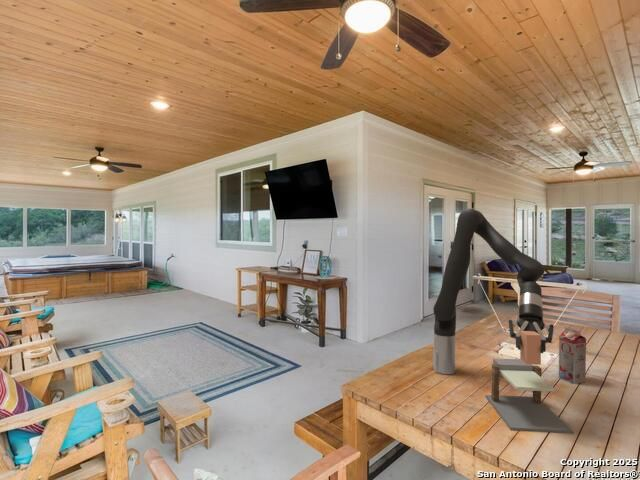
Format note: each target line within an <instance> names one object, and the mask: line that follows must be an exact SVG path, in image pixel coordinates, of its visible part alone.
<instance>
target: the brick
mask: <svg viewBox="0 0 640 480" xmlns="http://www.w3.org/2000/svg"><path fill="white" fill-rule="evenodd" d="M520 334H521V336H520V339H521V340H520V350H519V351H520V353H519V354H520V356H519V357H520V358H519V359H521V360H522V361H523V362H524V363H526V364H532V365H535V366H539V365H541V363H542V362H541V361H542V353H541V335H540V334H538V333H536V332H533V331H520Z"/></svg>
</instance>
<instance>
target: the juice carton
mask: <svg viewBox="0 0 640 480" xmlns="http://www.w3.org/2000/svg"><path fill="white" fill-rule="evenodd" d="M586 354H587V338H586V337H584V336H583V335H581V331H580V330H577V329H573V328H570V327H566V326H564V331H562V332H561V333H560V334H559V335H558V378H559V379H561V380H564V381H566V382H569V383H571V384H579V383H580V384H581V383H586V369H587V367H586V366H587V361H586V360H587V355H586Z"/></svg>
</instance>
